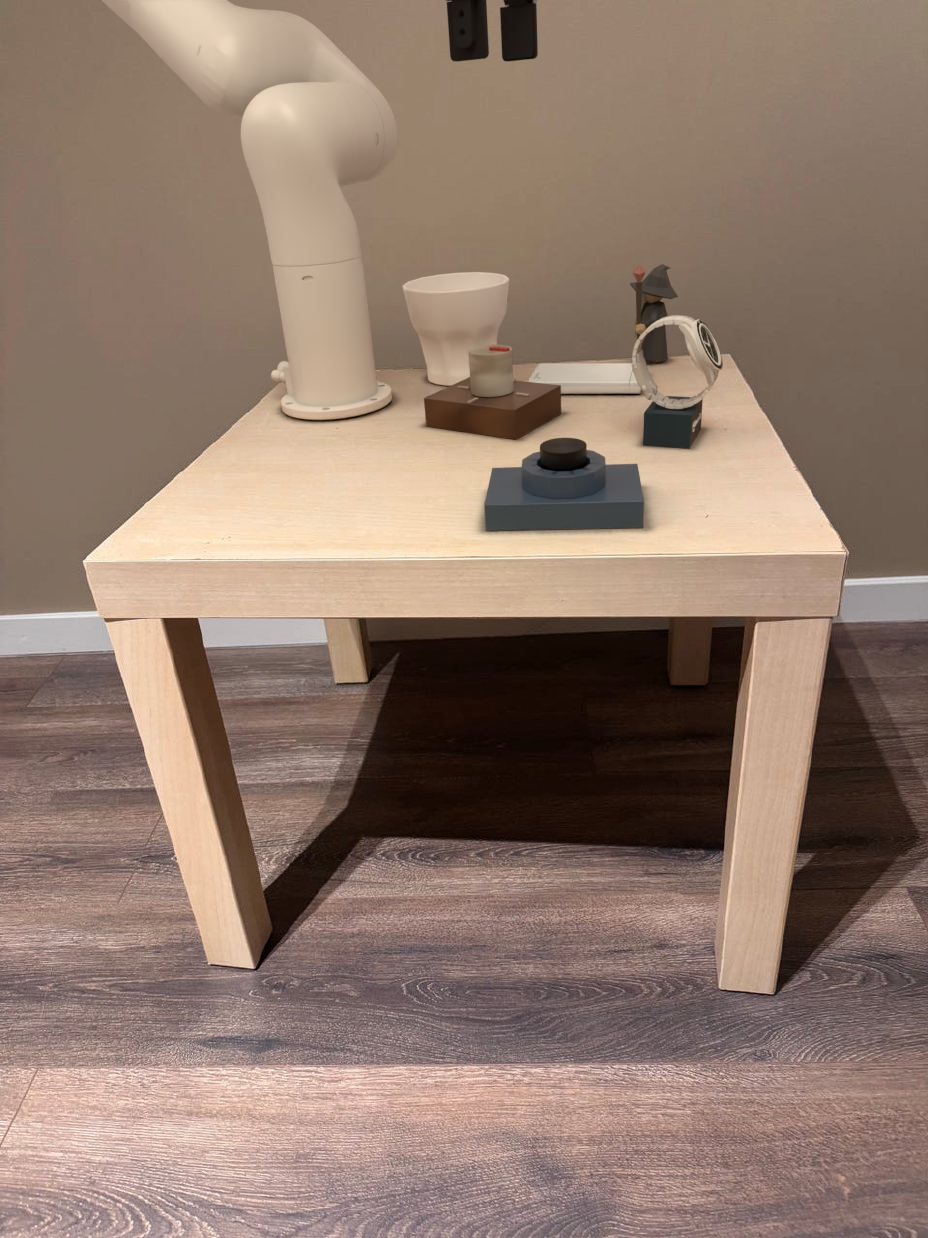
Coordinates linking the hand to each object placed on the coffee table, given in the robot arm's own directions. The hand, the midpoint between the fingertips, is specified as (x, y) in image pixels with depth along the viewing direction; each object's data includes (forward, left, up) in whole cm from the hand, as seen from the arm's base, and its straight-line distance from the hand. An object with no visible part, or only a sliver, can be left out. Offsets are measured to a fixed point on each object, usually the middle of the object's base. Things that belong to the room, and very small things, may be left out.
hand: (496, 59), depth 76 cm
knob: (-3, +1, -29) cm, 29 cm away
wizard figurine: (+3, +27, -32) cm, 42 cm away
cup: (-16, +14, -32) cm, 39 cm away
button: (+15, -16, -28) cm, 36 cm away
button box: (+15, -16, -32) cm, 39 cm away
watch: (+16, +3, -32) cm, 36 cm away
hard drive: (0, +16, -32) cm, 36 cm away
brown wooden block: (-3, +1, -32) cm, 32 cm away
